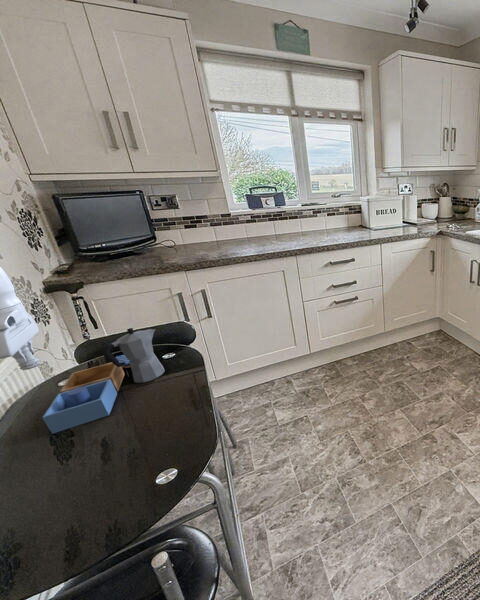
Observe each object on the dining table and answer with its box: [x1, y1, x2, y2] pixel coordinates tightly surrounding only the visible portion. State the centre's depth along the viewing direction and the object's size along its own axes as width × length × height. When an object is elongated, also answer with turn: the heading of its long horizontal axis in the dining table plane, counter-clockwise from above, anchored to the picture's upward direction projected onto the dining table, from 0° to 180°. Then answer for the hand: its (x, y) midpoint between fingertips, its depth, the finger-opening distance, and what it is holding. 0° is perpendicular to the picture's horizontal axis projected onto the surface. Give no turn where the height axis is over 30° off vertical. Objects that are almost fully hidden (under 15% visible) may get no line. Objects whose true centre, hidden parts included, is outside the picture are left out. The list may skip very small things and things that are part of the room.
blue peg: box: [67, 386, 93, 407], centre depth 94 cm, size 4×4×7 cm
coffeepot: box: [102, 327, 166, 384], centre depth 108 cm, size 15×9×18 cm, turn 153°
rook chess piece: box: [18, 343, 42, 371], centre depth 97 cm, size 4×4×8 cm
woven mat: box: [114, 354, 131, 369], centre depth 122 cm, size 10×11×2 cm
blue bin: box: [42, 379, 118, 435], centre depth 95 cm, size 12×12×6 cm
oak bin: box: [59, 361, 126, 394], centre depth 106 cm, size 12×12×6 cm
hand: (26, 358), depth 97 cm, fingers closed on rook chess piece, 3 cm apart
